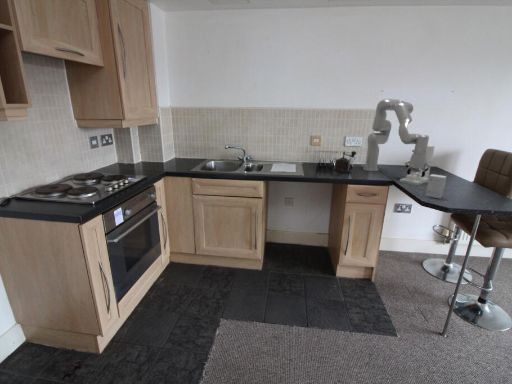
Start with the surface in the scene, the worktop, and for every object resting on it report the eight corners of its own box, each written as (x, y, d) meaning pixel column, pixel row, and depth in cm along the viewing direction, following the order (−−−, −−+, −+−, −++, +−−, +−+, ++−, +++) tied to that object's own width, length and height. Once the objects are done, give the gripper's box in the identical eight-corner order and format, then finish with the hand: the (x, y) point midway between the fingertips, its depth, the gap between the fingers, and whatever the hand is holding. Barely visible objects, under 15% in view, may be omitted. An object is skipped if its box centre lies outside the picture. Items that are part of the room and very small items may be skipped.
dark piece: (334, 171, 237) (336, 149, 232) (337, 169, 247) (339, 148, 241) (353, 173, 230) (356, 151, 225) (355, 171, 240) (358, 150, 235)
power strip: (405, 180, 204) (406, 175, 203) (416, 176, 217) (417, 171, 216) (412, 181, 200) (413, 176, 199) (423, 177, 213) (424, 173, 212)
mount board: (399, 182, 206) (401, 171, 204) (411, 177, 220) (413, 167, 218) (416, 185, 198) (419, 174, 195) (428, 181, 211) (430, 170, 209)
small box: (442, 196, 173) (447, 176, 169) (440, 198, 169) (444, 177, 165) (427, 193, 178) (431, 173, 175) (425, 195, 174) (429, 175, 170)
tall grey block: (422, 179, 217) (429, 146, 210) (415, 176, 224) (421, 145, 217) (430, 178, 219) (436, 146, 212) (422, 176, 226) (429, 145, 219)
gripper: (405, 151, 207) (401, 174, 212) (431, 154, 194) (426, 178, 199) (409, 150, 211) (405, 172, 216) (435, 153, 199) (430, 177, 204)
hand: (415, 175), depth 208 cm, fingers open, 9 cm apart
